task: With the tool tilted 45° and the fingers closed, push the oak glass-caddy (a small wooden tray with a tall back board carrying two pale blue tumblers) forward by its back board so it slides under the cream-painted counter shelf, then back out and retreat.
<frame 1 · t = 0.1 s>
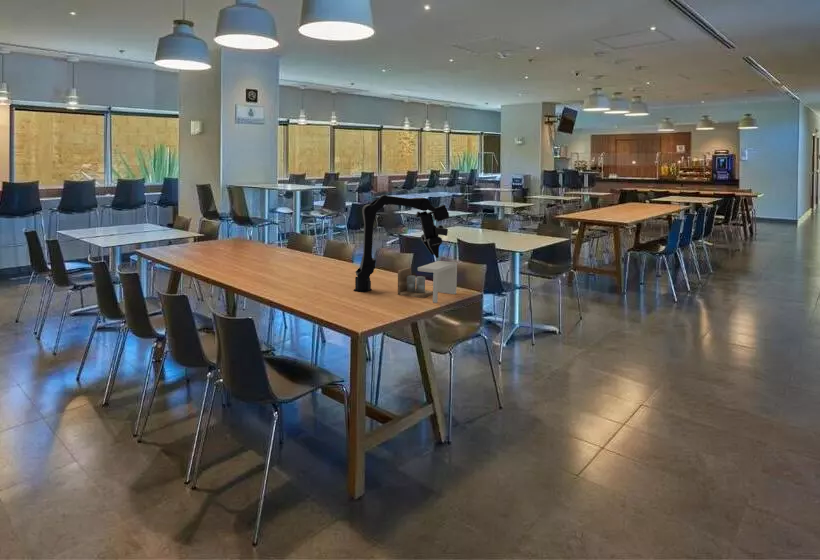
hand: (435, 256, 284), 15 cm above the table, tool pointing down, fingers open, 9 cm apart
counter: (437, 296, 268), on the table
caddy: (415, 294, 273), on the table
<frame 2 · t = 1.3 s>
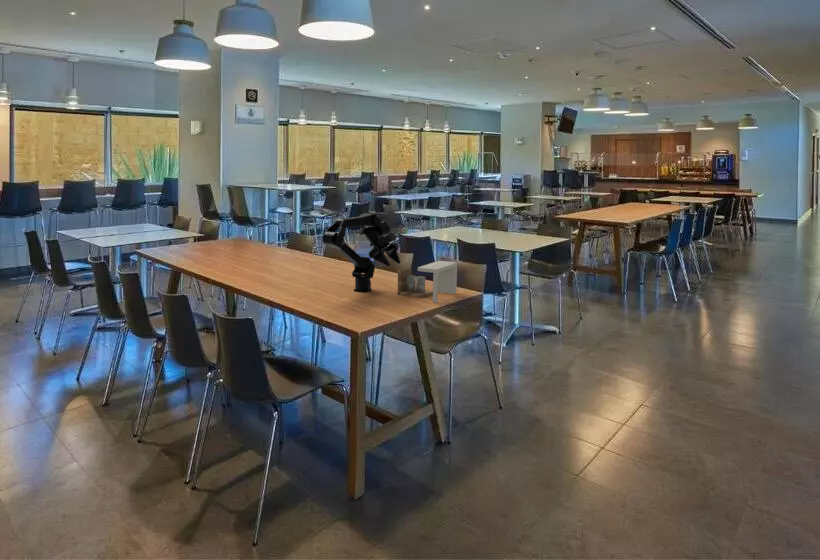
hand: (394, 264, 276), 13 cm above the table, tool tilted 45°, fingers open, 9 cm apart
nothing on the table moved.
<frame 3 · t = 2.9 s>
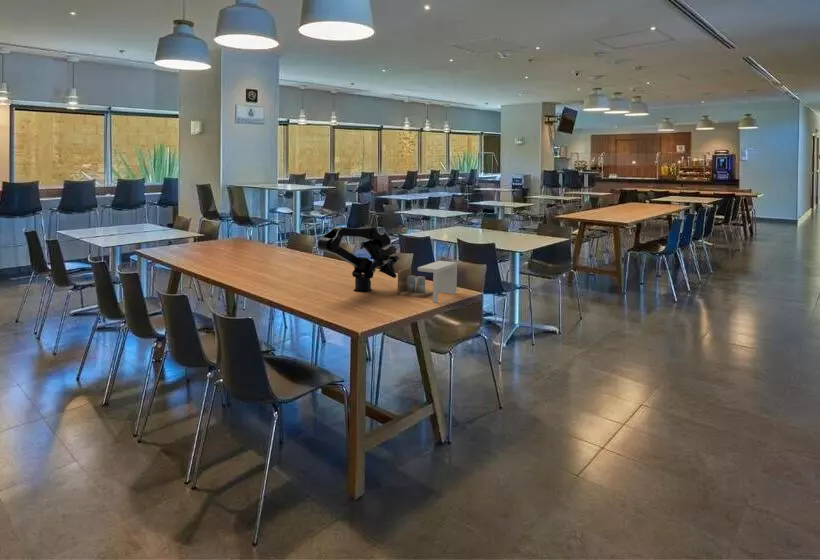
hand: (395, 277, 277), 7 cm above the table, tool tilted 45°, fingers closed
nothing on the table moved.
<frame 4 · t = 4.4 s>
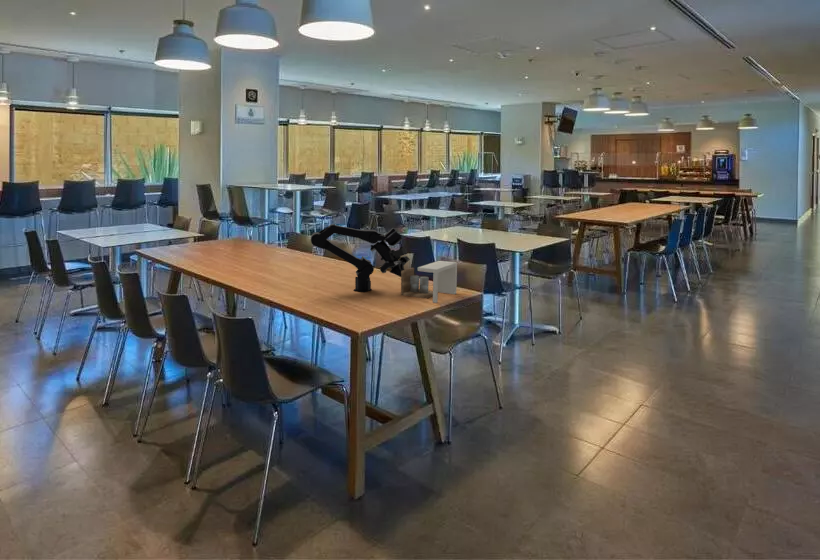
hand: (406, 278, 275), 7 cm above the table, tool tilted 45°, fingers closed, pressing on caddy
caddy: (418, 294, 273), on the table, touching gripper
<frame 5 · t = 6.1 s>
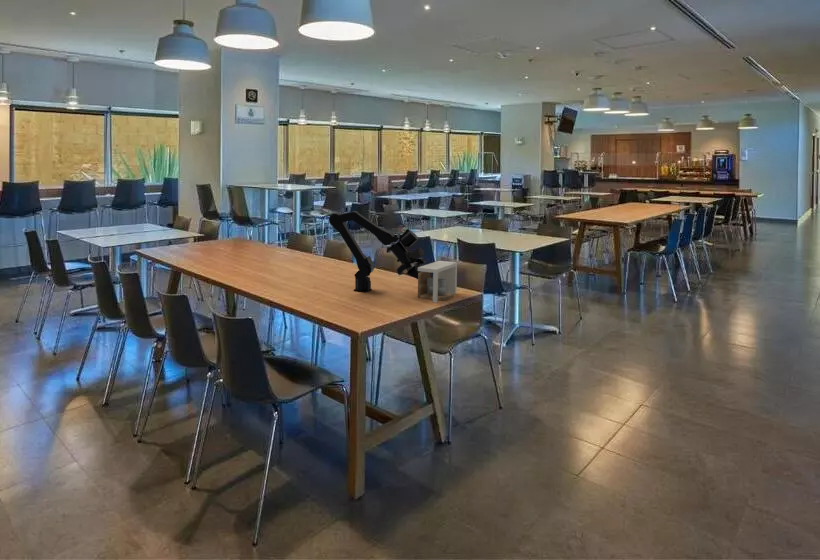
hand: (423, 280, 270), 7 cm above the table, tool tilted 45°, fingers closed, pressing on caddy
caddy: (435, 296, 268), on the table, touching gripper
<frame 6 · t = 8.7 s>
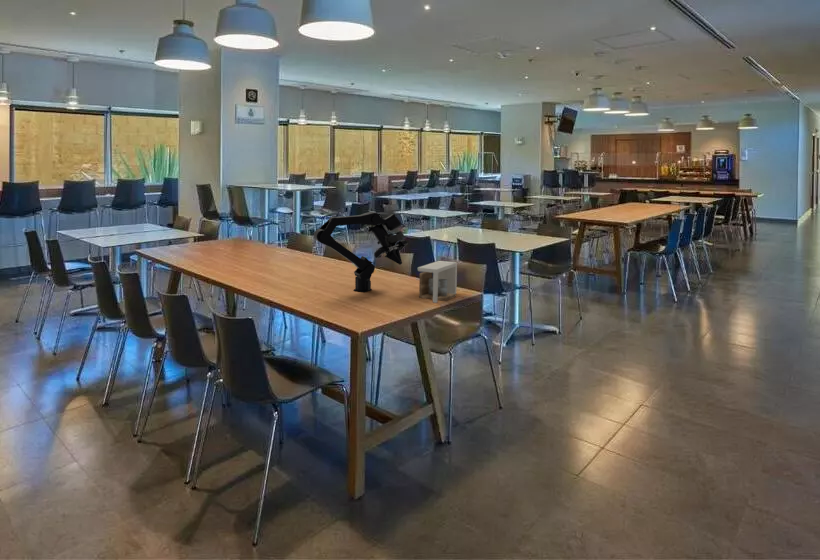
hand: (401, 264, 275), 13 cm above the table, tool tilted 40°, fingers closed
caddy: (437, 297, 268), on the table
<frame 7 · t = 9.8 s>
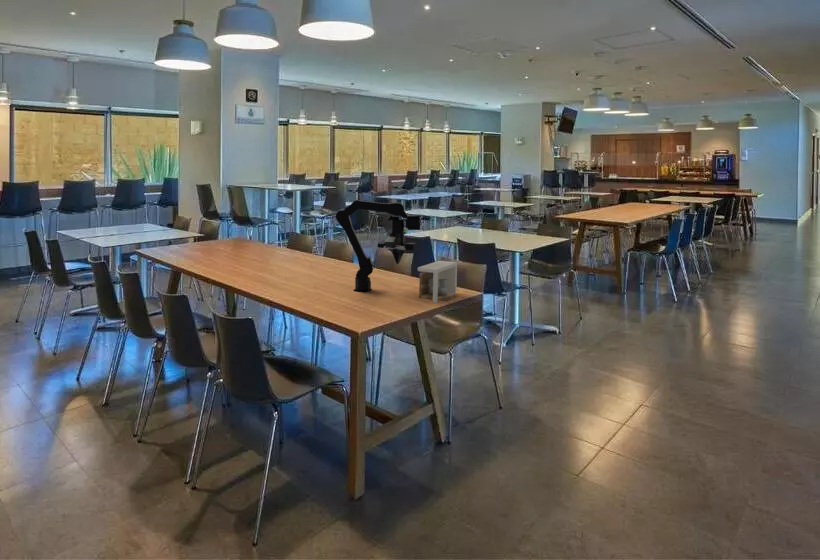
hand: (397, 263, 278), 13 cm above the table, tool pointing down, fingers closed
nothing on the table moved.
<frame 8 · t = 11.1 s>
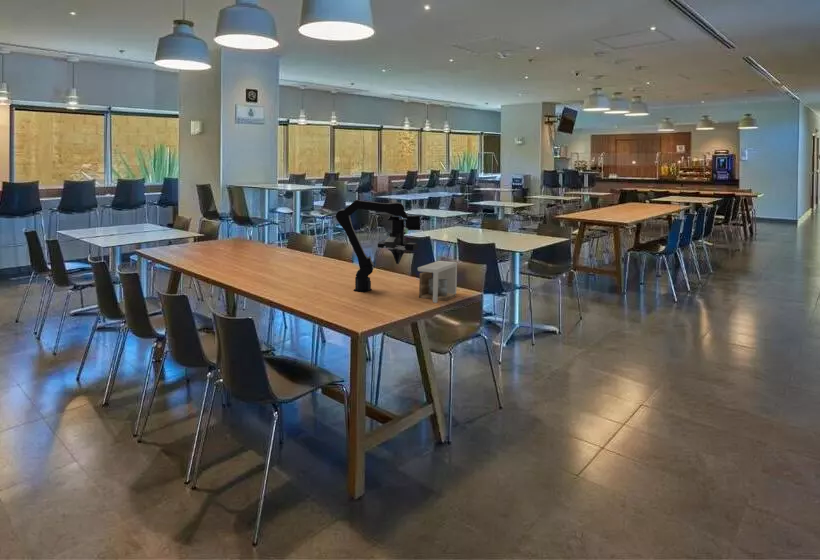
hand: (397, 263, 278), 12 cm above the table, tool pointing down, fingers closed
nothing on the table moved.
at the end: caddy inside the target area (0.6 cm from its centre), on the table; caddy tilted 0°; the gripper is holding nothing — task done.
